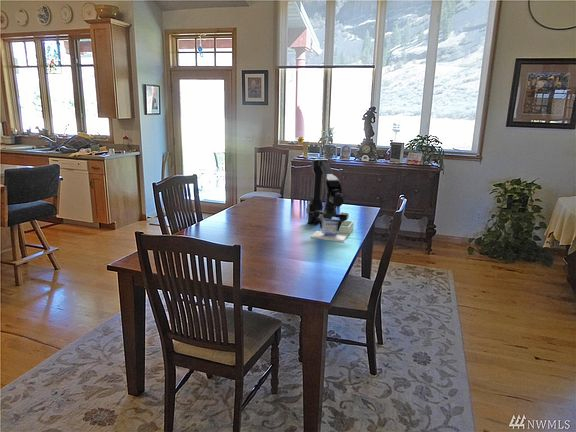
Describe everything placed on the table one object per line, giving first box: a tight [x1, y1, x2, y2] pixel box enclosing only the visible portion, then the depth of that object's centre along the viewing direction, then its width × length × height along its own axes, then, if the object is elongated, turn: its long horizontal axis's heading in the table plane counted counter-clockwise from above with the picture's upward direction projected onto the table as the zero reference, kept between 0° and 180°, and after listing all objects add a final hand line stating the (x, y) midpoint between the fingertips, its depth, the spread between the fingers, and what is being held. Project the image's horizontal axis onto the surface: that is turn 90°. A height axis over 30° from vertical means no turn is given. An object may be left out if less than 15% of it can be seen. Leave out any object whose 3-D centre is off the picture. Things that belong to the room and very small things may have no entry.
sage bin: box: [338, 220, 355, 237], centre depth 234 cm, size 15×14×5 cm
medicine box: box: [321, 217, 339, 235], centre depth 222 cm, size 8×4×9 cm, turn 105°
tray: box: [310, 230, 349, 243], centre depth 224 cm, size 18×11×1 cm, turn 70°
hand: (329, 230), depth 223 cm, fingers closed on medicine box, 9 cm apart
